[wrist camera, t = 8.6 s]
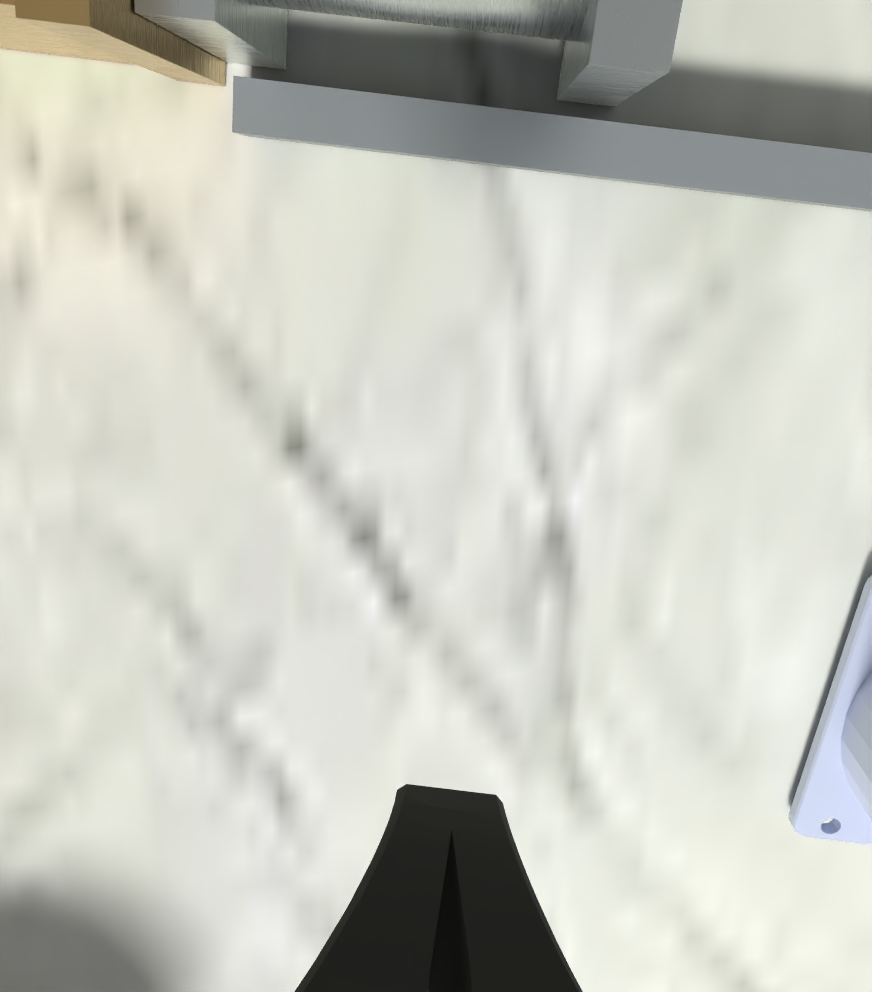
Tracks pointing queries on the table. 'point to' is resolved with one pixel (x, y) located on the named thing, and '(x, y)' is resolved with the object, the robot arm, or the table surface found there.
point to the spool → (464, 5)
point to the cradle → (552, 143)
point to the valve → (105, 37)
